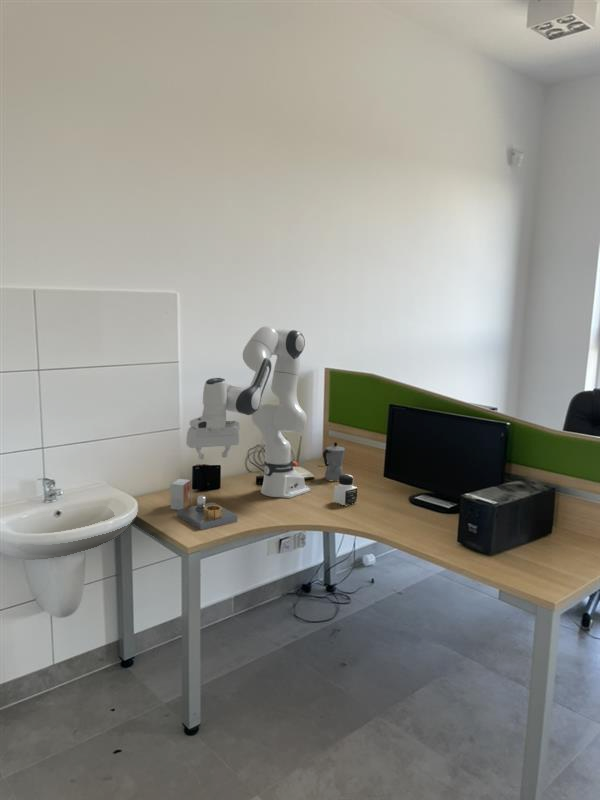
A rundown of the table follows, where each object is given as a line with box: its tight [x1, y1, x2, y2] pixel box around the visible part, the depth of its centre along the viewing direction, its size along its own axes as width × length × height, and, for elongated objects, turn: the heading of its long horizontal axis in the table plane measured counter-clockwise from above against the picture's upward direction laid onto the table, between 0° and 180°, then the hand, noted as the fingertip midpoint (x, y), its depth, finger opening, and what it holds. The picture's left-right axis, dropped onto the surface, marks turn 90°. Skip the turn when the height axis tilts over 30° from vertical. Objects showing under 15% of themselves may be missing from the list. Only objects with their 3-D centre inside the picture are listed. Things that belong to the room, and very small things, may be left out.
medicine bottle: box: [333, 473, 358, 506], centre depth 257 cm, size 7×7×12 cm
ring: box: [204, 504, 224, 519], centre depth 229 cm, size 7×7×3 cm
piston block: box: [176, 494, 239, 531], centre depth 233 cm, size 16×18×8 cm
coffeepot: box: [322, 442, 346, 482], centre depth 290 cm, size 15×9×18 cm, turn 138°
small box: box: [170, 478, 192, 511], centre depth 245 cm, size 8×6×10 cm
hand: (212, 457), depth 228 cm, fingers open, 8 cm apart
